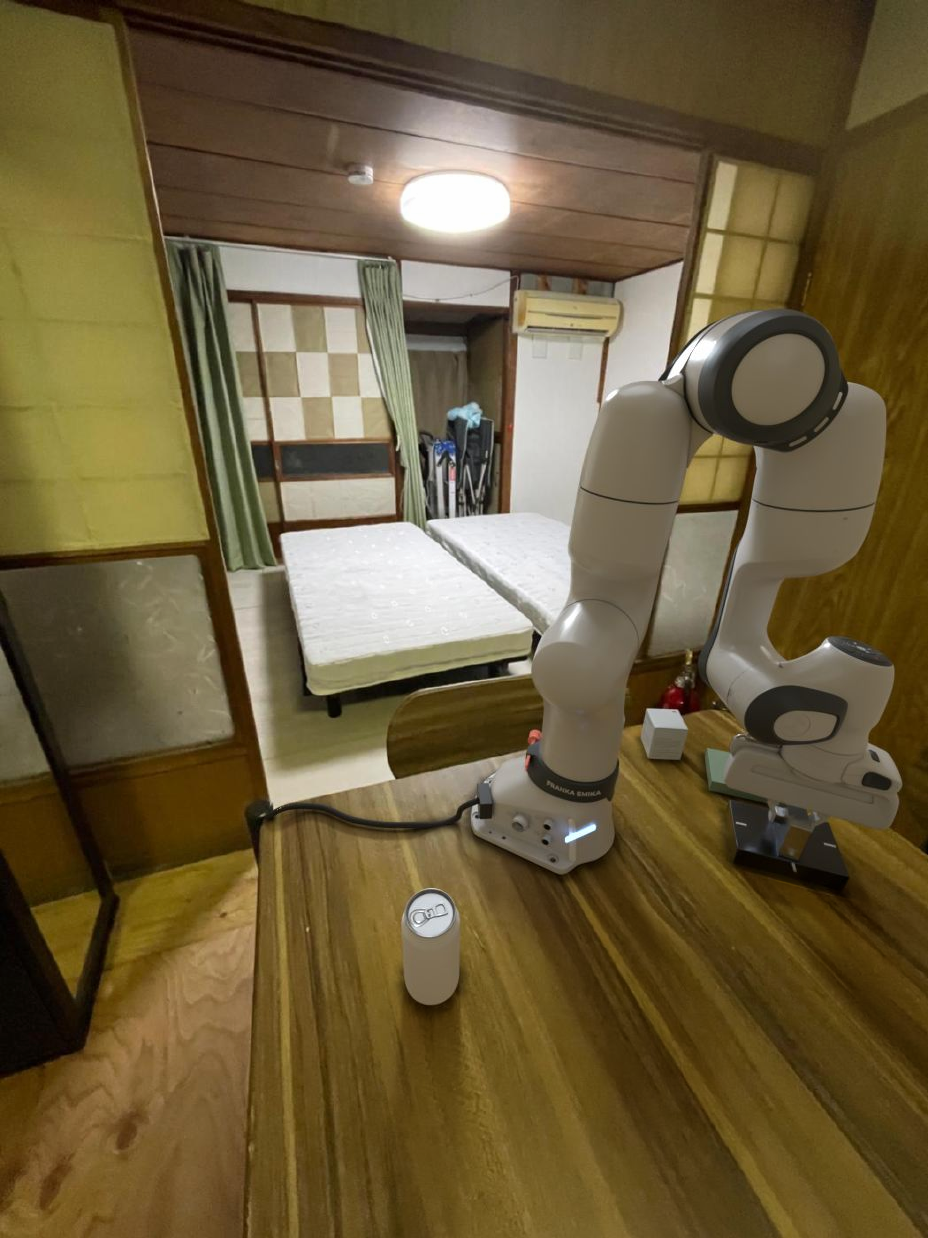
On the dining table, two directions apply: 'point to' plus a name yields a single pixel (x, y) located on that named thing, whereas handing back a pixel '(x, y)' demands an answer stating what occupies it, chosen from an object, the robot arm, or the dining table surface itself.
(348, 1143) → the dining table surface
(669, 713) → the product box
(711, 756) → the button block
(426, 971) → the can
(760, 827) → the base
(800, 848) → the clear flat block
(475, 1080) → the dining table surface
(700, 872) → the dining table surface
